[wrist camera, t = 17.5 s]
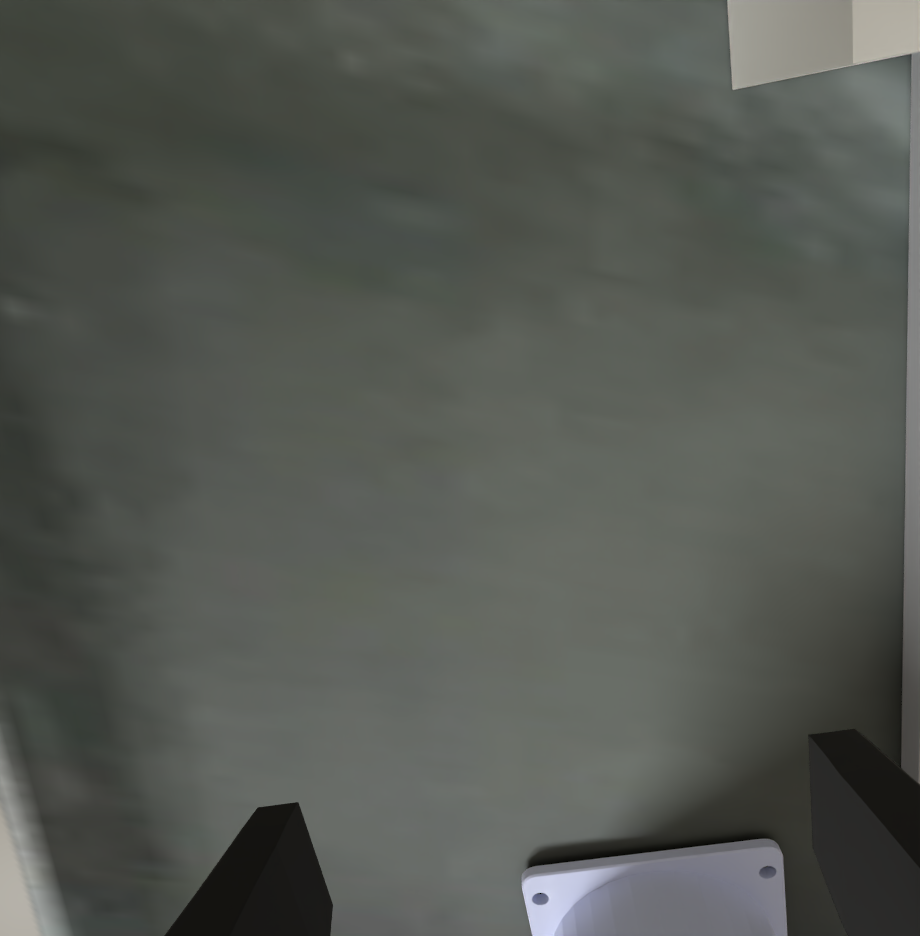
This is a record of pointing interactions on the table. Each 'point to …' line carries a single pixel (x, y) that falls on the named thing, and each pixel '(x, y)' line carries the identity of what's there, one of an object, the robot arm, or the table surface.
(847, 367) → the table surface
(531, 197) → the table surface
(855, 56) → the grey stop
